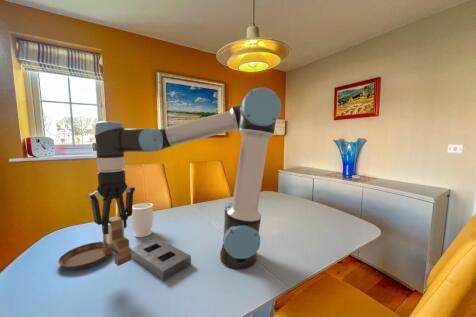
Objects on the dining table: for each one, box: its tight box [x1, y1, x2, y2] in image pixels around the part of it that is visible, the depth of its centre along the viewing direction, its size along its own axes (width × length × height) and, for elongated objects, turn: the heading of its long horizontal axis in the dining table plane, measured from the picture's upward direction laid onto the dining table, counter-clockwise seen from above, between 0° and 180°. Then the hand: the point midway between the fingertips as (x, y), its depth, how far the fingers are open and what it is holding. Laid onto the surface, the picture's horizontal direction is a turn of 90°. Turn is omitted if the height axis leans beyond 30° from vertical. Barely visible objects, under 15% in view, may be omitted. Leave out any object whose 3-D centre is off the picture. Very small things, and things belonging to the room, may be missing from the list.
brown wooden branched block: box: [101, 215, 133, 267], centre depth 66 cm, size 12×4×13 cm, turn 53°
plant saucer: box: [58, 241, 110, 271], centre depth 81 cm, size 18×18×3 cm
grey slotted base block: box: [130, 237, 192, 282], centre depth 80 cm, size 24×12×4 cm, turn 53°
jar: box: [130, 202, 155, 238], centre depth 103 cm, size 11×10×15 cm
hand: (115, 240), depth 66 cm, fingers closed on brown wooden branched block, 3 cm apart
